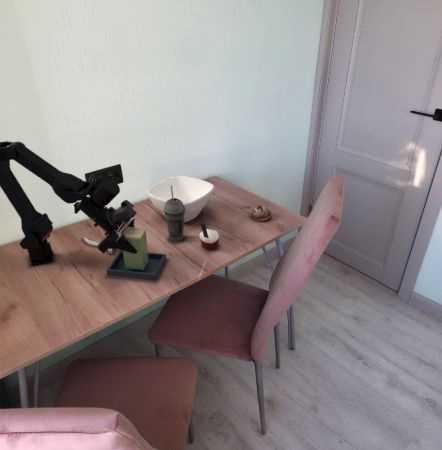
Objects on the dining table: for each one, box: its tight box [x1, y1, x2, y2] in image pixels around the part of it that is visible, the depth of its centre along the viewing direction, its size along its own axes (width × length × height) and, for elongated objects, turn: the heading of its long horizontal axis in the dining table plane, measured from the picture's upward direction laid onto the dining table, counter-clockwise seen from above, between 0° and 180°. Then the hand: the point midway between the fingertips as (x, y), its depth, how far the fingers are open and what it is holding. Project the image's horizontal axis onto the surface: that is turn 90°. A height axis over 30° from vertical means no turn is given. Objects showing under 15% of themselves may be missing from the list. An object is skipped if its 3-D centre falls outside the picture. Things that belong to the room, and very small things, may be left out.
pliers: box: [83, 236, 119, 254], centre depth 139 cm, size 10×2×15 cm
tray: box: [106, 250, 167, 281], centre depth 126 cm, size 11×15×2 cm
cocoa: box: [199, 222, 220, 250], centre depth 133 cm, size 10×6×12 cm, turn 135°
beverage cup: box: [163, 185, 185, 243], centre depth 136 cm, size 7×7×20 cm
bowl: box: [146, 175, 215, 223], centre depth 153 cm, size 22×22×12 cm
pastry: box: [250, 204, 272, 222], centre depth 154 cm, size 8×8×5 cm
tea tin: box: [120, 226, 149, 270], centre depth 123 cm, size 5×6×12 cm
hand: (139, 248), depth 123 cm, fingers closed on tea tin, 5 cm apart
